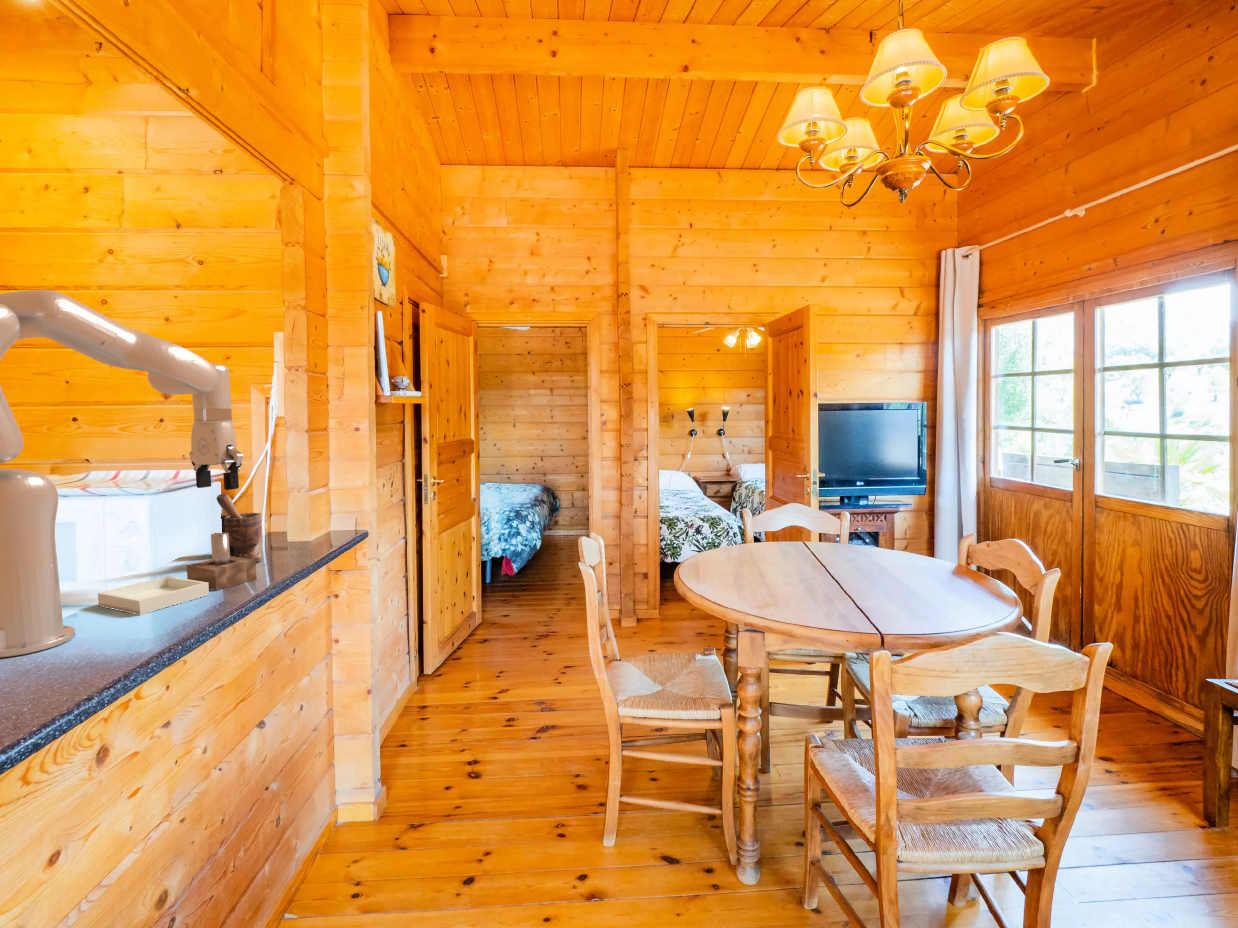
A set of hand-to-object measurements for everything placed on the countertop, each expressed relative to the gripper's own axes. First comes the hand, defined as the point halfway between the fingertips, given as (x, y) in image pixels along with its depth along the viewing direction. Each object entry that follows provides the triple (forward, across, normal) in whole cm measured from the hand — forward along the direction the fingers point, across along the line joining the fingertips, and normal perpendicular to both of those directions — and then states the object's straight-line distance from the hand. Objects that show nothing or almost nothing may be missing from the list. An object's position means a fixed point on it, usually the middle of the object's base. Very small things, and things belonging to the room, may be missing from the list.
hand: (217, 488), depth 143 cm
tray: (+23, 0, -15) cm, 28 cm away
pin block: (+23, 0, 0) cm, 23 cm away
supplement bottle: (+23, -25, +19) cm, 39 cm away
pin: (+23, 0, 0) cm, 23 cm away
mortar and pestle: (+23, -12, +14) cm, 30 cm away
